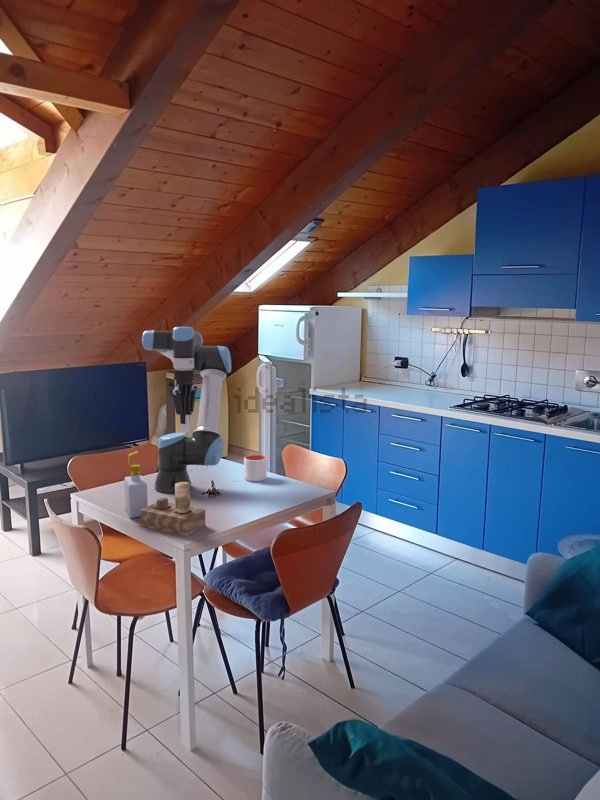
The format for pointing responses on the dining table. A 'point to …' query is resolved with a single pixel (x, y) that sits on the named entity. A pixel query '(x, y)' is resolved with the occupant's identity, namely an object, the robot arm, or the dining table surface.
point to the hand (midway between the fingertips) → (185, 431)
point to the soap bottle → (135, 491)
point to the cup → (255, 468)
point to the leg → (182, 497)
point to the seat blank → (171, 518)
